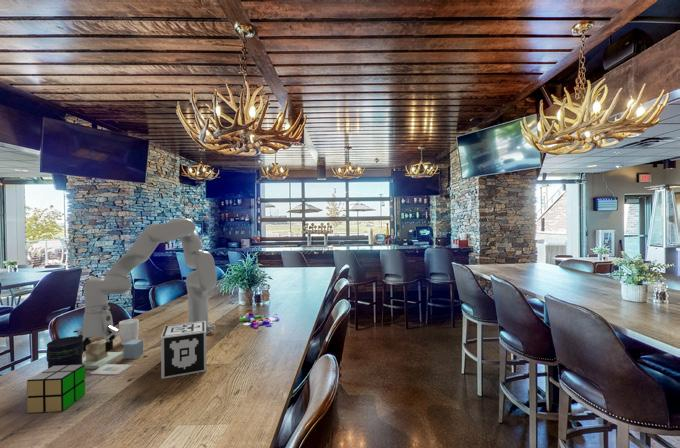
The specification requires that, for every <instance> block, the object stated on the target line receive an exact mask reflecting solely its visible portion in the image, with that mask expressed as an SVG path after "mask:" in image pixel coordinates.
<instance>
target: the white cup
mask: <svg viewBox="0 0 680 448" xmlns="http://www.w3.org/2000/svg"><path fill="white" fill-rule="evenodd" d="M139 325H140V320H139V319H138V318H129V319H123V320H121V321H119V322H118V328H119V329H118V330H119V331H118V333H119V339H120V345H122V346H123V344H125V343H127V342H129V341H131V340H139V339H138V338H139V327H140V326H139Z"/></svg>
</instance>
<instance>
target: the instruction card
mask: <svg viewBox="0 0 680 448" xmlns="http://www.w3.org/2000/svg"><path fill="white" fill-rule="evenodd" d="M131 367H133V364H117V363H116V364H114V363H113V364H111V363H109V364H106V365H104V366H102V367H100V368H98V369H94V370H93V371H91V372H90V373H89V375H94V376H95V375H97V376H98V375H100V376H101V375H102V376H103V375H104V376H119V375H120V374H122V373H123V372H124V371H127V370H128V369H130V368H131Z"/></svg>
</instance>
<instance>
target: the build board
mask: <svg viewBox="0 0 680 448" xmlns="http://www.w3.org/2000/svg"><path fill="white" fill-rule="evenodd" d="M121 357H123V351H122V352H121V351H120V352H119V351H117V352H116V351H115V352H114V351H109V352H108V356H106V357H104V358H102V359H101V360H99V361H86V355H85V356H82V363H83V365H85V370H86V369H87V370H88V369H89V370H91V369H92V370H97V369H98V368H100V367H102V366H104V365H106V364H111V363H112V362H114V361H116V360H118V359H119V358H121Z"/></svg>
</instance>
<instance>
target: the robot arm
mask: <svg viewBox="0 0 680 448" xmlns="http://www.w3.org/2000/svg"><path fill="white" fill-rule="evenodd" d="M175 240H179V241H180V242H181V245H182V248H183V257H184V261H185V265H186V266H187V268H189V269H191V270H192V269H193V271H190V272H189V273H188V275H187V276H186V279H185V287H186V291H187V315H188V316H187V323H191V322H199V321H206V335H207V334H209V333H211V332H212V331H214V330H216V327H217V326H216V324H211V321H209V294H208V292H211V291H212V290H214V289H215V288H216V286H217V283H218V278H217V277H218V276H217V269H216V264H215V263H216V262H215V259H214V256H213V255H212V254H211V253H210V252H209V251H206V250H203V246H202V242H201V238H200V236H199V233H198V232H197V231H196V224H195V222H194V221H193V220H192V219H191V218H186V217H185V218H173V219H172V218H171V219H170V220H169V221H167V222H165V223H152V224H149V225H147V226H146V227H145V228H144V229H143V230H142V231H141V233H140V234H139V236H138V237H137V239H135V240H134V243H132V245H131V246H130V248H129V249H128V250H127V251H126V253H124V254H123V255H122V256H121V257H120V258H118V259H117V261H116V262H115V263H114V264H113V265H112V267H111V268H110V269H109V270H108V271H107V273H106V274H105V276H104V277H94V278H88V279H86V280H85V281H84V283H83V287H84V313H83V316H82V317H83V318H82V324H81V327H80V328H79V329H76V331H78V332H76V334H77V336H80V337H83V353H86V345H89V344H91V343H92V342H91V341H92V340H91V338H92V339H93V338H94V339H95V338H99V339H100V338H103V339H104V341H107V342H105V351H106V352H111V351H113V349H114V340H115V339H116V338H117V335H118V334H119V329H118V328H116V327H114V322H113V315H112V313H111V310H110V309H111V306H110V305H109V298H108V297H109V295H121V294H124V293H126V292H128V291H130V289H131V287H132V281H131V280H130V279H129V277H128V276H129V274H130V273H131V271H132V270H133V269H135V268H136V267H138V266H139V265H141V264H144V263H145V262H146V261H148V260H149V259H150V257H151V256H152V254H153V253H154V251H155V250H156V248H157V247H158V245H160V243H167V242H173V241H175Z"/></svg>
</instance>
